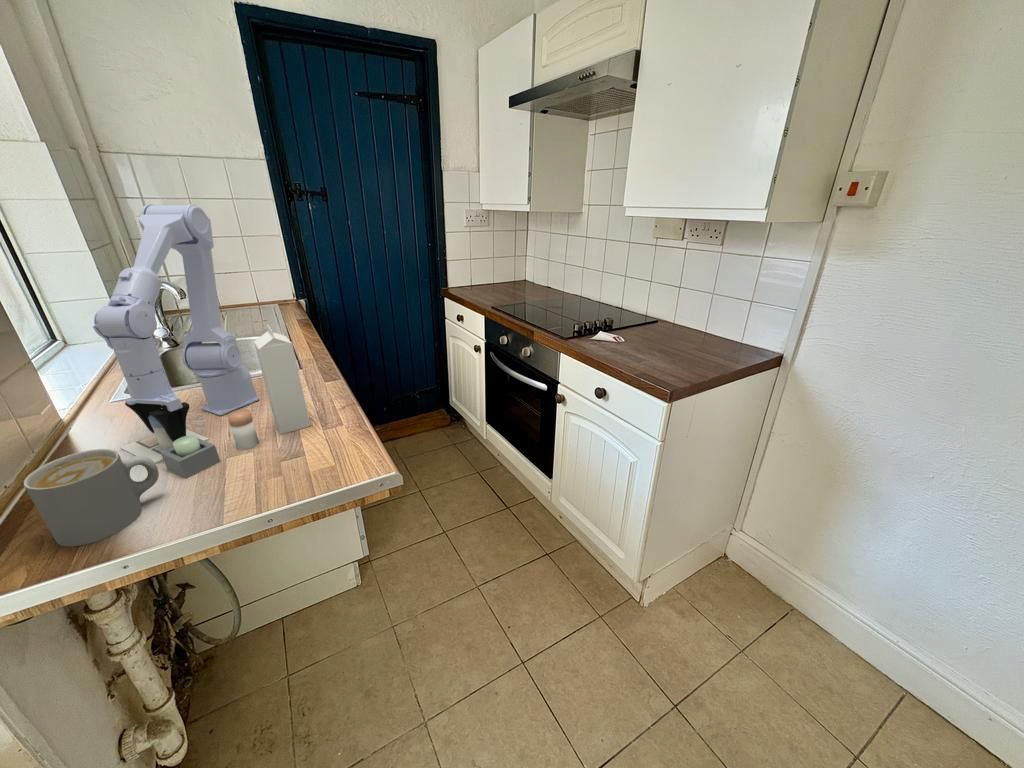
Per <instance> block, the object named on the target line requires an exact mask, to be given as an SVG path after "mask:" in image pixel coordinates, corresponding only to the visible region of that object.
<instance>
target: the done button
mask: <svg viewBox="0 0 1024 768" xmlns="http://www.w3.org/2000/svg"><path fill="white" fill-rule="evenodd" d="M173 446H174V448H175V451H176V454H177V456H179V457H181V458H183V457H185V456H187V455H189V454H191V453H194V452H196V451H198V450H200V449H201V447H200V444H199V441H198V438H197V436H194V435H190V436H184V437H181V438H179V439H177V440H175V441H174V442H173Z"/></svg>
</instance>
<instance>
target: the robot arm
mask: <svg viewBox="0 0 1024 768" xmlns="http://www.w3.org/2000/svg"><path fill="white" fill-rule="evenodd" d="M137 220H138V223H139V225H140V228H141V229H142V234H141V238H140V241H139V246H138V249H137V252H136V256H135V260H134V263H133V266H132V267H127V268H126V267H125V268H124V269H122V271H120V272H119V275H118V279H117V282H116V284H115V286H114V287H115V288H114V289H113V292H112V294H111V297H110V298H109V301H108V303H107V305H103V307H101V308H100V309H98V310H97V311H96V312H95V314H94V317H93V323H94V325H92V328H93V330H94V332H95V333H96V334H97V335H98V336H99V337H101V338H102V339H104V341H105V342H106V345H107V347H108V348H110V349H112V350H113V351H114V355H115V358H116V359H117V362H118V365H119V367H120V370H121V372H122V374H123V377H124V379H125V382H126V384H127V387H126V389H127V391H128V394H129V396H130V397H128V398H126V399H125V400H124V401H125V402H124V405H125V406H126V407H127V408H129V409H130V410H132V411H133V412H134V413H135V414H136V416H138V417H139V418H140V420H141V421H142V422H143V424H144V425H145V426H146V428H147V429H148V431H149V432H151V433H152V434H155V433H154V430H153V428H152V426H151V424H150V421H149V419H148V417H149V416H150V415H151V416H153V417H154V418H155V419H156V420H157V421H158V422H159V423H160V424H161V425H162V427H163V428H164V429H165V431H166V433H167V435H168V436H169V438H170V439H171V440H172V441H173V442H174V441H175V440H177V439H179V438H181V437H184V436H186V429H187V416H188V412H189V410H190V408H191V407H190V404H189V403H187V402H185V401H183V402H182V401H181V399H180V397H179V396H177V395H176V393H175V391H174V388H173V387H172V386H171V384H170V381H169V378H168V375H167V373H166V370H165V368H164V365H163V362H162V359H161V356H160V354H159V352H158V351H159V350H158V348H157V346H156V343H155V340H154V337H153V334H154V333H155V331H156V329H157V327H158V326H157V325H158V323H157V322H158V321H157V318H156V308H155V305H156V301H157V298H158V296H159V294H160V291H161V288H162V285H163V282H162V280H161V279H160V277H159V276H158V273H159V272H160V270H161V268H162V265H163V264H164V262H165V260H166V258H167V256H168V254H169V252H170V250H171V249H172V250H175V251H177V253H179V254H180V255H181V257H182V263H183V269H184V270H183V271H184V277H185V285H186V293H187V299H188V305H189V306H188V307H189V312H190V319H191V327H192V329H191V330H190V331H189V333H187V334H186V335H185V336H184V337H183V338H182V342H183V343H182V344H183V345H182V346H183V348H182V352H181V360H182V363H183V364H184V366H185V367H186V368H187V370H189V371H193V375H195V376H198V379H199V382H200V386H201V389H202V392H203V394H204V397H205V401H206V404H204V405H201V406H200V409H201V410H203V411H205V412H209V413H212V414H214V415H216V416H223V415H226V414H229V413H231V412H233V411H236V410H239V409H240V408H243V407H245V406H248V405H250V404H252V403H255V402H257V401H259V399H260V398H259V397H258V396H257V393H256V389H255V386H254V383H253V379H252V377H251V376H252V375H251V373H250V371H249V370H248V369H247V367H246V366H244V365H243V364H241V362H242V361H241V360H242V354H241V350H240V349H239V347H238V343H237V339H236V336H235V335H233V334H232V333H230V332H228V331H227V330H226V329H223V328H222V323H221V313H220V307H219V298H218V292H217V291H218V290H217V284H216V276H215V268H214V259H213V253H212V252H213V251H212V249H214V239H213V238H214V237H213V230H212V223H211V219H210V218H209V216H208V214H206V212H205V211H204V210H203V208H202V207H200V206H199V205H197V204H194V203H190V204H170V205H169V204H165V205H164V204H162V205H161V204H159V205H158V204H151V203H150V204H149V203H148V204H146V205H144V206H143V207H142V208H141V211H140V216H139V217H138V219H137ZM205 342H207V343H205ZM211 342H212V343H211Z"/></svg>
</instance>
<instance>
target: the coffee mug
mask: <svg viewBox="0 0 1024 768" xmlns="http://www.w3.org/2000/svg"><path fill="white" fill-rule="evenodd" d="M135 466H142V467H144V468H145V469H146V471H147V476H146V477H145V479H143V480H141V481H136V480H134V479H133V478H132V477H131V474H130V473H131V470H132V468H134V467H135ZM159 475H160V474H159V469H158V466H157V463H156V464H155V463H154V461H153V460H152V459H150V458H149V457H146V456H132V457H127V458H124V459H122V458H121V456H120V454H119V453H118V452H117V451H116V450H115V449H111V448H96V449H90V450H83V451H80V452H75V453H72V454H68V455H66V456H63V457H60V458H56V459H54V460H52V461H50V462H47V463H46V464H43V465H41V466H39V467H38V468H36V469H35V470H33V471H32V472H31V473H29V474H28V475H27V476H26V478H25V479H24V480H23V487H24V488H25V490H26V492H27V494H28V495H29V497H30V500H32V502H33V504H34V506H35V507H36V510H37V511H38V512H39V516H41V518H42V520H43V521H44V523H45V525H46V526H47V528H48V530H49V532H50V534H51V535H52V537H53V539H54V541H55V542H56V543H57V544H58V545H59V546H63V547H78V546H84V545H89V544H94V543H96V542H99V541H101V540H105V539H106V538H109V537H111V536H113V535H116V534H117V533H119V532H121V531H122V530H125V529H126V528H127V527H129V526H130V525H132V523H134V522H135V521H136V520H137V519H138V518H139V517H140V515H142V512H143V506H142V503H141V501H140V500H141V499H140V498H141V497H142V495H143V494H144V493H145V492H147V491H148V490H149V489H150V488H152V487H153V486H154V485H155V484H156V483H157V482H158V479H159Z"/></svg>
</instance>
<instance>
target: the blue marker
mask: <svg viewBox="0 0 1024 768" xmlns="http://www.w3.org/2000/svg"><path fill="white" fill-rule="evenodd" d="M148 419H149V421H150V424H151V426H152V428H153V430H154V433H153V434H155V435H156V438H157V440H158V443H159V445H160V448H161V450H162V451H166V450H169V449H171V448H173V447H174V446H173V441H172V440H171V439H170V438H169V436H168V435H167V433H166V431H165V429H164V428H163V427H162V425H161V424H160V423H159V422H158V421H157V420H156V419H155V418H154V417H153V416H151V415H150V416H149V417H148Z"/></svg>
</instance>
